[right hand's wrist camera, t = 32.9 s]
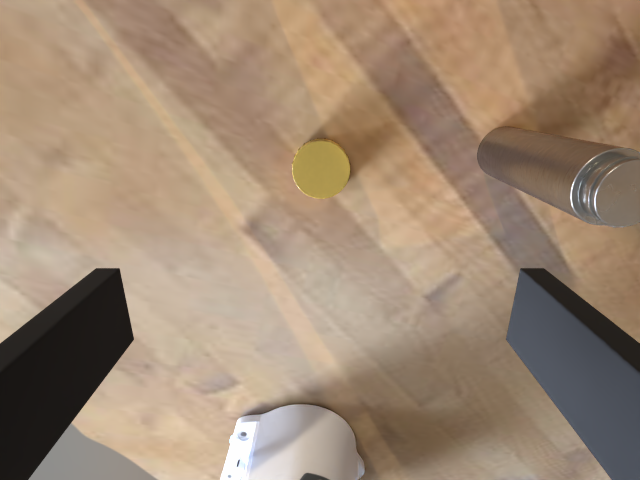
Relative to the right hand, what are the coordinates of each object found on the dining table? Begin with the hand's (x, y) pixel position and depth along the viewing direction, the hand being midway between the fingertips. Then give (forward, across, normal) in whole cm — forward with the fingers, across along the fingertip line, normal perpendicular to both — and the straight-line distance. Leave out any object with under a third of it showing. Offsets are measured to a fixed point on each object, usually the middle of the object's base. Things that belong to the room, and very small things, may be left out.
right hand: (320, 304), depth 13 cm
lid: (+26, 0, 0) cm, 26 cm away
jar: (+28, +18, +1) cm, 33 cm away
